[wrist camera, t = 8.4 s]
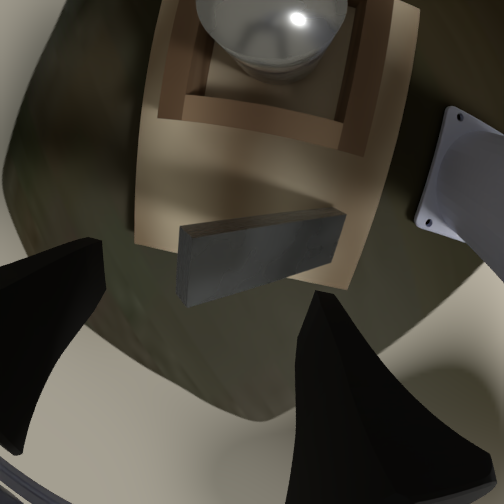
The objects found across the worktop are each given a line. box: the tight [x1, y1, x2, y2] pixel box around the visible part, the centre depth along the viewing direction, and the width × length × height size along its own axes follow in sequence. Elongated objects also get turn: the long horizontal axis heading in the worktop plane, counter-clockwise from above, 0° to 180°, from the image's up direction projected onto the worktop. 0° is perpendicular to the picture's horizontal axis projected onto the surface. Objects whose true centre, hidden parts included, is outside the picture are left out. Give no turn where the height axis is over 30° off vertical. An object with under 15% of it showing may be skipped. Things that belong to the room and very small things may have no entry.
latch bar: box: [176, 207, 347, 308], centre depth 14 cm, size 9×3×1 cm
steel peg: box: [196, 0, 348, 85], centre depth 9 cm, size 4×4×7 cm
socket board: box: [135, 0, 420, 290], centre depth 13 cm, size 14×18×4 cm
